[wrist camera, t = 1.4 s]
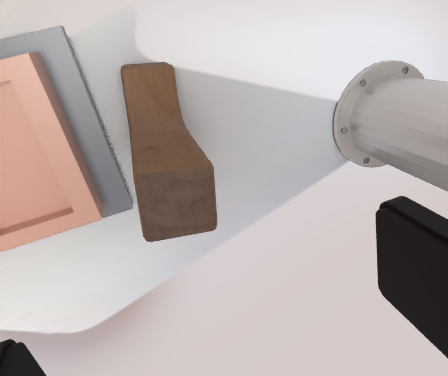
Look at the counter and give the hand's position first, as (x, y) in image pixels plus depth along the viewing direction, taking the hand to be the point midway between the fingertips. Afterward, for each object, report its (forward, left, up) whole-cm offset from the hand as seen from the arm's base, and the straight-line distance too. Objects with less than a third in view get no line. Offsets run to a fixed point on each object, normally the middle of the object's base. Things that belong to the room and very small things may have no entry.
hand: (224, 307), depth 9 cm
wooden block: (0, 0, -29) cm, 29 cm away
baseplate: (+13, 0, -29) cm, 32 cm away
